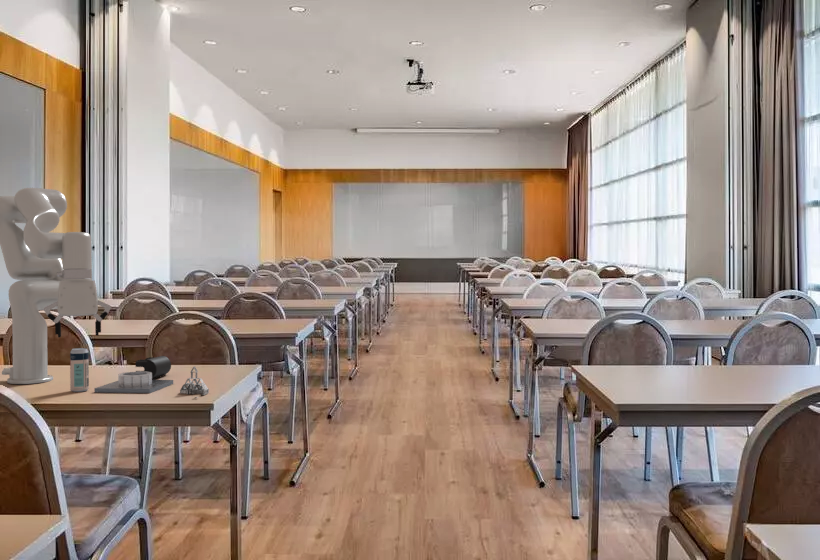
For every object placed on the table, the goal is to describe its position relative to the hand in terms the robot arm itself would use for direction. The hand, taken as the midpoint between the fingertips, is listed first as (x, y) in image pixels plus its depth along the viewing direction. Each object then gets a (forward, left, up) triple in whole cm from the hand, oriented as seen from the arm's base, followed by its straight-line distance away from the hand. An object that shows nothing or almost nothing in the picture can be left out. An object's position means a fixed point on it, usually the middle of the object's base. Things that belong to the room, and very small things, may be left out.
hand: (78, 336), depth 199 cm
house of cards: (+33, -2, -16) cm, 36 cm away
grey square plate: (+13, +6, -16) cm, 22 cm away
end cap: (+11, +24, -16) cm, 31 cm away
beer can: (0, 0, -16) cm, 16 cm away
